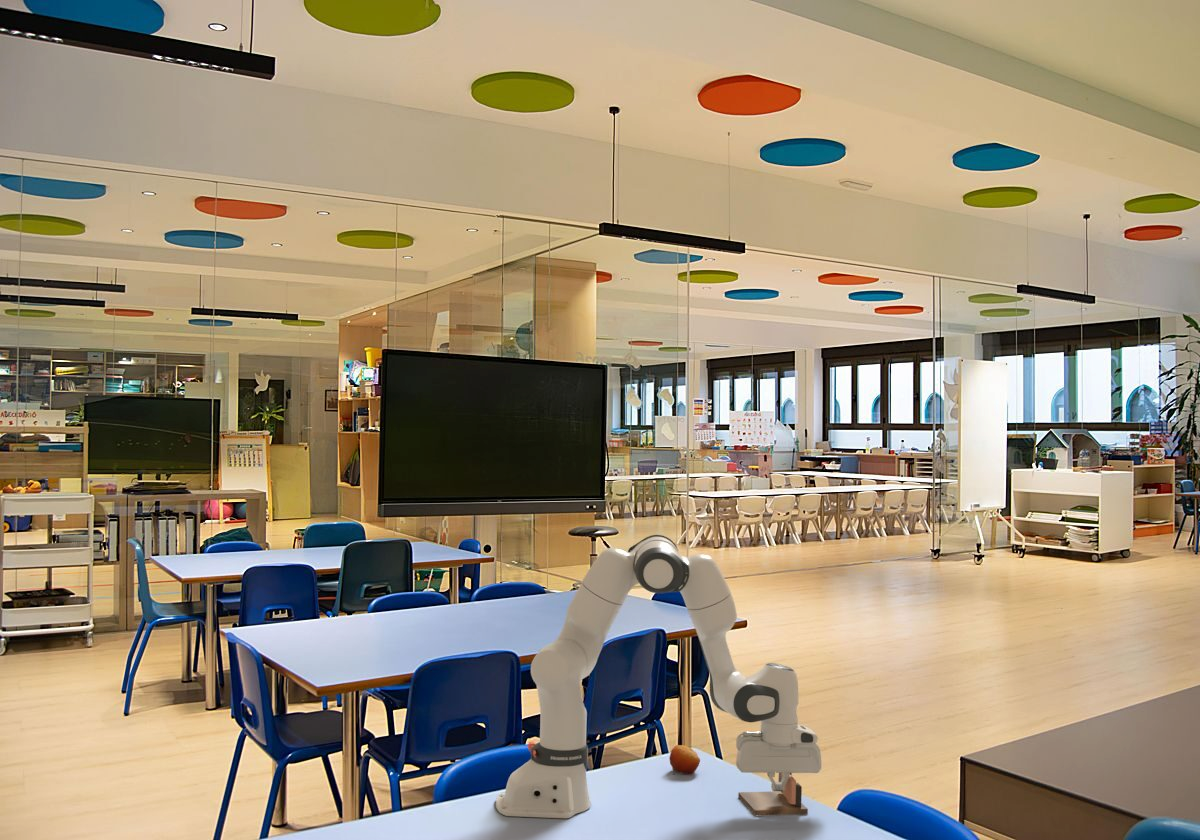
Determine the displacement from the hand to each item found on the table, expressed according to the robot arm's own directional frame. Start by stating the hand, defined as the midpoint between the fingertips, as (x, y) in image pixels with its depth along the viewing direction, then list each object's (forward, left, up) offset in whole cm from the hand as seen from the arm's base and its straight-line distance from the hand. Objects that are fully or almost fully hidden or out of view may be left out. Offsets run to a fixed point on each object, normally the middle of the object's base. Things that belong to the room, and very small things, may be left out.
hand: (778, 790), depth 230 cm
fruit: (-16, +29, -4) cm, 33 cm away
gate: (+3, +2, -2) cm, 4 cm away
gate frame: (-1, +2, -4) cm, 5 cm away
